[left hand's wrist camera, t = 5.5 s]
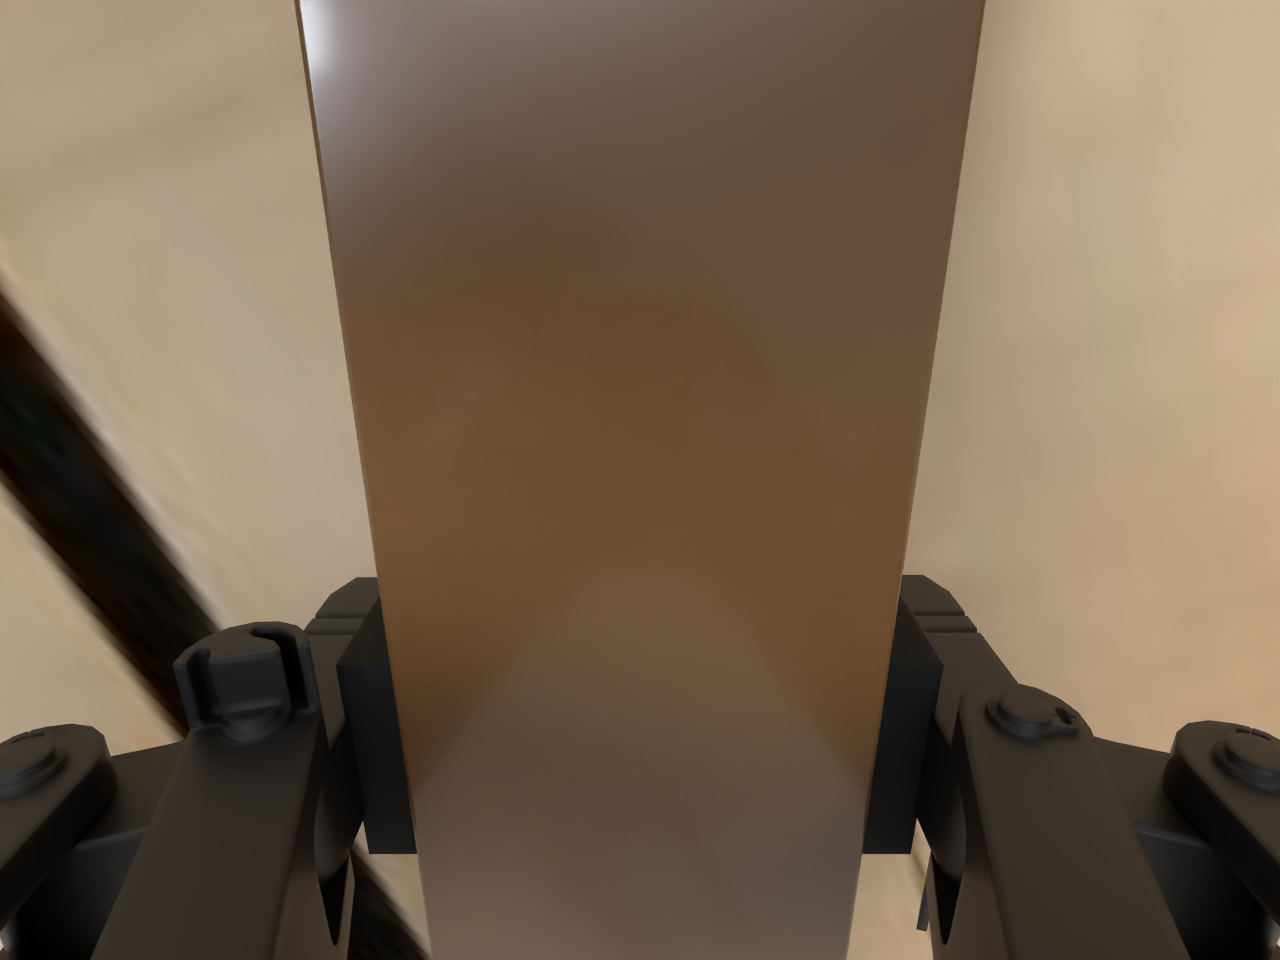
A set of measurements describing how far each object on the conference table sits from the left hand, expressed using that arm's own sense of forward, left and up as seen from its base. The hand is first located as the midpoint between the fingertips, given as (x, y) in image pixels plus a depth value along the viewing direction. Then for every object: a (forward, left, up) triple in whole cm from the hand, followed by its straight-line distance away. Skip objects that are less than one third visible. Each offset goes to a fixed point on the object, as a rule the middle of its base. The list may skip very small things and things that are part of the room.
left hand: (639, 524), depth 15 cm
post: (-6, +18, -1) cm, 19 cm away
